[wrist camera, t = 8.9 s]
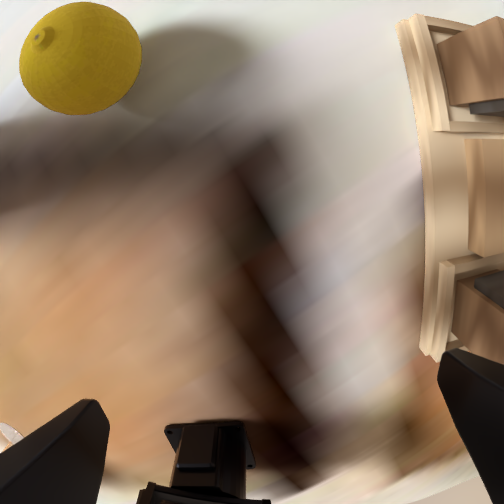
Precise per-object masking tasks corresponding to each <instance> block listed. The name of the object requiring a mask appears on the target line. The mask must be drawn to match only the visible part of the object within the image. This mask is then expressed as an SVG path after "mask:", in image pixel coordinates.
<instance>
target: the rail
mask: <svg viewBox="0 0 504 504" xmlns="http://www.w3.org/2000/svg"><path fill="white" fill-rule="evenodd" d="M471 27H473V26H471V25H467V24H463V23H459V22H454V21H450V20H445V19H440V18H435V17H429V16H424V15H421V14H414V15H413V16H412V17H410V18H409V19H408V20H405V19H402V20H401V21H400V22H399V23H397V24H396V25H395V28H396V32H397V35H398V39H399V42H400V46H401V50H402V54H403V58H404V62H405V67H406V71H407V76H408V80H409V85H410V90H411V95H412V101H413V106H414V112H415V118H416V125H417V132H418V139H419V147H420V156H421V166H422V177H423V191H424V209H425V281H424V299H423V313H422V324H421V334H420V343H419V348H420V349H421V350H422V352H423V353H424V354H425V356H427V355H431V356H432V358H433V359H434V360H435V362H436V363H437V362H440V361H441V356H442V354H443V352H445V351H447V350H450V349H453V348H459V349H462V350H465V351H470V352H471V353H473V354H476V355H478V356H481V357H484V358H487V359H490V360H492V361H495V362H498V363H501V364H504V117H497V116H487V115H475V114H470V108H469V107H459V106H449V100H448V94H447V89H446V84H445V79H444V74H443V70H442V65H441V61H440V57H439V53H438V49H437V45H436V44H438V43H440V42H442V41H444V40H446V39H448V38H450V37H452V36H454V35H456V34H458V33H460V32H462V31H464V30H466V29H469V28H471Z"/></svg>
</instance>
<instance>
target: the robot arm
mask: <svg viewBox="0 0 504 504" xmlns="http://www.w3.org/2000/svg"><path fill="white" fill-rule="evenodd" d="M437 381H438V385H439V387H440V390H441V392H442V394H443V397H444V399H445V402H446V404H447V407H448V409H449V412H450V414H451V417H452V419H453V422H454V424H455V426H456V429H457V431H458V433H459V435H460V437H461V438H462V440H463V442H464V444H465V446H466V448H467V450H468V452H469V454H470V456H471V458H472V460H473V462H474V464H475V466H476V468H477V470H478V472H479V475H480V477H481V479H482V481H483V483H484V485H485V487H486V490H487V492H488V494H489V496H490V499H491V501H492V503H493V504H504V364H501V363H498V362H495V361H492V360H490V359H487V358H484V357H481V356H478V355H476V354H473V353H470V352H467V351H465V350H462V349H459V348H453V349H450V350H447V351H445V352H443V354H442V356H441V361H440V366H439V371H438V376H437ZM237 427H239V428H237ZM109 431H110V424H109V420H108V419H107V417H106V415H105V413H104V411H103V410H102V408H101V406H100V404H99V402H98V401H97V400H94V399H82V400H80V401H79V402H77V403H76V404H74V405H73V406H71V407H70V408H68V409H67V410H65V411H64V412H62V413H61V414H59V415H58V416H56V417H55V418H53V419H52V420H50V421H49V422H47V423H46V424H44V425H43V426H41V427H40V428H38V429H37V430H35V431H34V432H32V433H31V434H29V435H28V436H26V437H25V438H23V439H22V440H20V441H19V442H17V443H16V444H14V445H13V446H11V447H9V448H8V449H6V450H5V451H3V452H2V453H0V504H96V502H97V497H98V493H99V489H100V485H101V481H102V476H103V471H104V465H105V457H106V450H107V444H108V437H109ZM164 433H165V435H166V436H167V438H168V440H169V442H170V444H171V446H172V448H173V449H174V451H175V453H176V456H175V461H174V466H173V471H172V475H171V480H170V485H169V487H165V486H161V485H157V484H156V483H153V482H148V485H147V488H146V489H143V490H140V492H139V495H138V499H137V503H136V504H271V501H270V500H267V499H262V500H251V499H246V469H253V468H255V467H256V462H255V459H254V456H253V452H252V449H251V446H250V442H249V439H248V436H247V432H246V429H245V425H244V424H243V423H242V422H225V423H211V424H192V425H167V426H166V427H165V429H164Z"/></svg>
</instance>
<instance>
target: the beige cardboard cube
mask: <svg viewBox="0 0 504 504" xmlns="http://www.w3.org/2000/svg"><path fill="white" fill-rule="evenodd" d="M436 45H437V49H438V53H439V57H440V61H441V65H442V70H443V74H444V79H445V84H446V89H447V94H448V100H449V106H459V107H469V108H470V114H475V115H487V116H497V117H504V19H503V18H500V17H498V16H496V17H493V18H491V19H489V20H486V21H484V22H482V23H480V24H477V25H475V26H473V27H471V28H469V29H466V30H464V31H462V32H460V33H458V34H456V35H454V36H452V37H450V38H448V39H446V40H444V41H442V42H440V43H438V44H436Z"/></svg>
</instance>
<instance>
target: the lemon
mask: <svg viewBox="0 0 504 504" xmlns="http://www.w3.org/2000/svg"><path fill="white" fill-rule="evenodd" d="M141 62H142V48H141V44H140V41H139V37H138V35H137V32H136V31H135V29H134V28H133V27H132V25H131V24H130V22H129V21H128V20H127V19H126V18H125V17H124V16H122V15H121V14H119V13H118V12H116V11H115V10H113V9H111V8H109V7H107V6H104V5H100V4H96V3H91V2H76V3H70V4H67V5H64V6H61V7H58V8H57V9H55V10H53V11H51V12H50V13H48V14H47V15H45V16H44V17H43V18H42V19H41V20H40V21H38V22H37V24H36V25H35V26H34V27H33V28H32V30H31V31H30V33H29V34H28V36H27V38H26V39H25V42H24V44H23V47H22V49H21V54H20V60H19V68H20V75H21V79H22V82H23V85H24V86H25V88H26V89H27V91H28V92H29V94H30V95H31V96H32V97H33V98H34V99H35V100H36V101H38V102H39V103H41V104H42V105H44V106H45V107H47V108H48V109H50V110H53V111H56V112H60V113H64V114H67V115H87V114H92V113H95V112H98V111H102V110H104V109H106V108H108V107H110V106H111V105H113V104H115V103H116V102H118V101H119V100H120V99H121V98H122V97H123V96H124V95H125V94H126V93H127V92H128V91H129V89H130V88H131V87H132V86H133V84H134V82H135V80H136V78H137V76H138V74H139V70H140V66H141Z"/></svg>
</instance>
